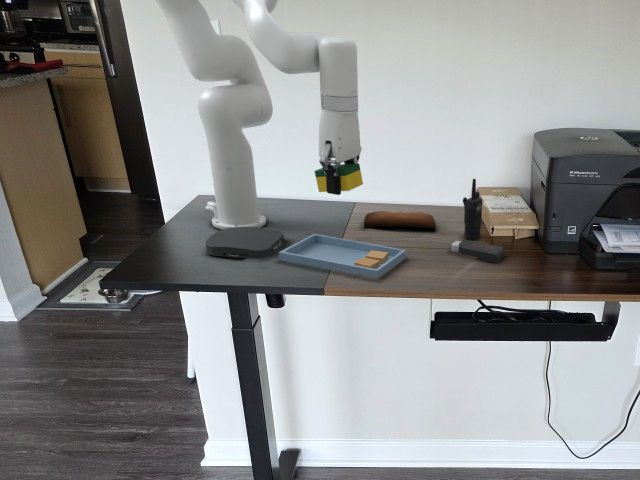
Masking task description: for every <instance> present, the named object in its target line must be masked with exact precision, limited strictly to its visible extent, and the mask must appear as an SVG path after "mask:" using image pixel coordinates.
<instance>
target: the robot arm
mask: <svg viewBox="0 0 640 480" xmlns="http://www.w3.org/2000/svg"><path fill="white" fill-rule="evenodd" d="M155 1H156V3H157V4H158V6H159V8H160V9H161V11H162V13H163V15H164V16H165V19H166V20H167V22H168V25H169V28H170V30H171V33H172V35H173V37H174V39H175V42H176V44H177V46H178V50H179V51H180V53H181V55H182V59H183V60H184V63H185V65H186V67H187V69H188V71H189V73H190V74H191V76H192V77H193V78H194V79H196V80H197V81H200V82H204V83H207V82H208V83H209V82H210V83H212V82H225V81H229V84H227V85H225V84H224V85H217V86H212V87H209V88H207V89H205V90H204V91H203V92H202V93H201V94H200V95H199V97H198V99H197V110H198V114H199V118H200V121H201V124H202V127H203V130H204V133H205V138H206V142H207V143H206V144H207V148H208V156H209V161H210V168H211V177H212V183H213V184H212V185H213V190H214V191H213V192H214V198H215V201H207V204H206V205H205V207H204V210H205V212H209V213H213V217H212V218H211V224H212V226H213V227H214V228H216V229H219V230H222V229H227V228H234V227H262V228H263V227H264V226H265V225H266V224H267V217H266V216H265V215H263V214H260V212H259V203H258V202H259V201H258V194H257V193H258V192H257V183H256V174H255V165H254V155H253V150H252V146H251V144H250V142H249V140H248V138H247V137H246V136H245V134H244V132H243V130H244V129H249V128H255V127H261V126H264V125H266V124H268V123H269V122H270V120H271V119H272V117H273V111H274V110H273V109H274V108H273V102H272V98H271V95H270V92H269V90H268V87H267V84H266V81H265V79H264V77H263V74H262V71H261V69H260V66H259V64H258V61H257V59H256V57H255V54H254V52H253V50H252V48H251V47H250V46H249V45H248V44H247V42H246V41H245V40H244V39H243V38H241V37H239V36H237V35H233V34H219V33H217V32H216V30H215V29H214V26H213V24H212V22H211V19H210V17H209V14H208V12H207V10H206V9H205V7H204V6H203V4H202V3H201V2H200V0H155ZM232 1H233V2H234V3H235V5H236V6H237V7H238V8H239V9H240V10H241V12H242V13H244V20H245V26H246V30H247V32H248V36H249V38H250V41H251V42H252V44H253V46H254V47H255V48H256V50H258V52H259V53H260V54H261V55H262V56H263V57H264V58H265V59H266V60H267V61H268V63H270V64H271V65H272V66H273V67H274V68H275V69H277V70H278V71H280V72H281V73H284V74H287V75H298V74H299V75H300V74H312V73H319V90H320V92H319V93H320V110H321V111H320V114H319V122H318V158H319V160H318V162H319V164H320V166H321V168H323V170H324V173H325V175H326V187H327V192H326V193H327V194H330V195H336V196H340V195H341V194H342V191H341V177H340V176H338V175H339V169H340V165H341V164H342V163H343V164H359V160H360V155H361V153H362V150H363V149H362V146H361V133H360V131H361V130H360V121H359V80H358V78H359V77H358V73H359V72H358V46H357V44H356V42H355V40H353V39H351V38H348V37H343V36H342V37H341V36H331V35H327V34H325V33H322V32H318V31H287V30H285V29H284V28H283V27H282V26H281V24H279V23H278V22H277V20H276V19H275V18H274V17H273V16H272V15H271V14H272V13H273V11H274V10H275V8H276V6H277V5H278V1H279V0H232ZM332 165H335V168H333V166H332Z"/></svg>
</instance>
